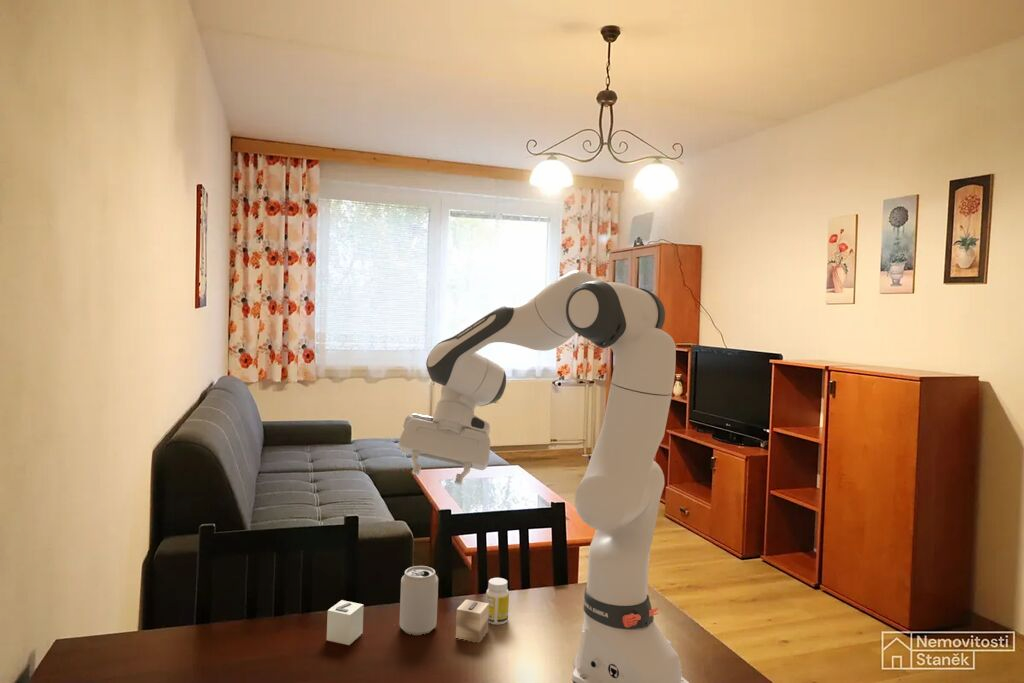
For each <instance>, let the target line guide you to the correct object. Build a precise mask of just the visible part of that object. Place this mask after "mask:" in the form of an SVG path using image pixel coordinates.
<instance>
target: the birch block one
mask: <svg viewBox="0 0 1024 683" xmlns="http://www.w3.org/2000/svg"><path fill="white" fill-rule="evenodd" d="M488 615H489V603H486V602H482V601H477V600H472V599H467V598H466V599H465V600H464V601H463V602H462V603H461V604H460V605H459V606H458V607H457V608H456V620H455V623H456V624H455V639H456V638H459V639H458V640H460V639H464V640H463V641H465V639H466V640H469V641H468V642H470V641H474V642H473V643H475V642H478V643H477V644H480V643H481V642H482V640H483V639H484V638H485V636H486V635H487V634H488V633H489V623H488ZM486 633H487V634H486ZM485 634H486V635H485ZM483 637H484V638H483ZM480 641H481V642H480ZM479 642H480V643H479Z"/></svg>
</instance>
